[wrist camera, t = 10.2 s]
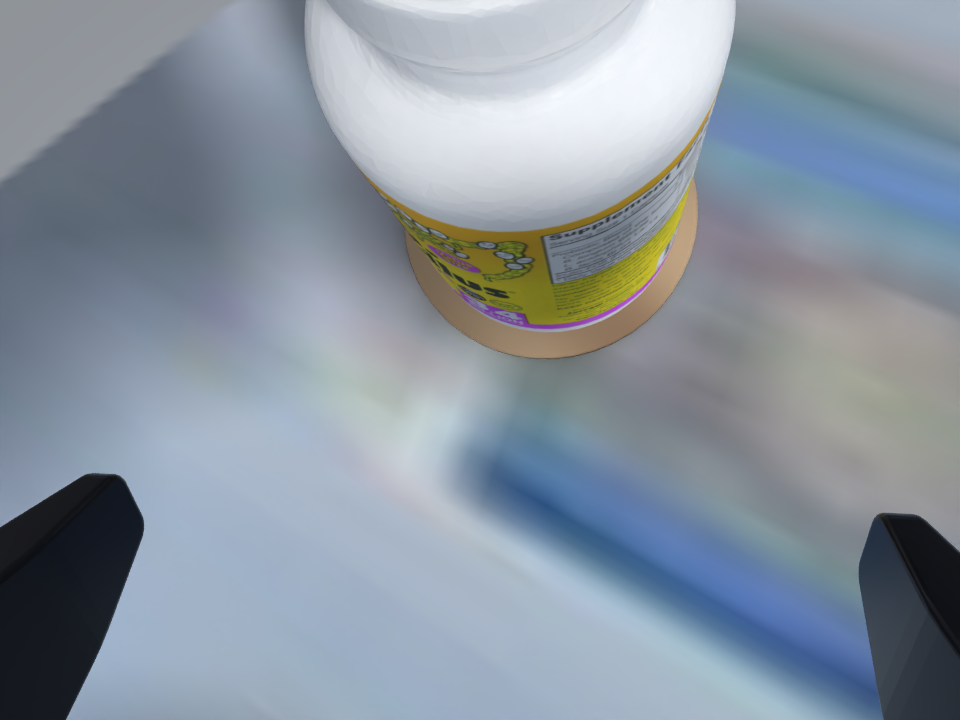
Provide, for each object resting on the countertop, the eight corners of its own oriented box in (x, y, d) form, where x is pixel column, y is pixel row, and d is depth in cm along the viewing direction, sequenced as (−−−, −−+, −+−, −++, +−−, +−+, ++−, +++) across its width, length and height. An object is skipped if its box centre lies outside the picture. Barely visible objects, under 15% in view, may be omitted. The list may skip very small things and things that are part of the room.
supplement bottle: (391, 187, 22) (94, -231, 9) (592, 62, 21) (573, -554, 9) (509, 387, 20) (349, 218, 8) (727, 256, 20) (942, -151, 7)
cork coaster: (559, 420, 20) (559, 419, 20) (351, 235, 22) (348, 231, 21) (760, 196, 20) (762, 192, 20) (536, 31, 22) (535, 24, 22)
